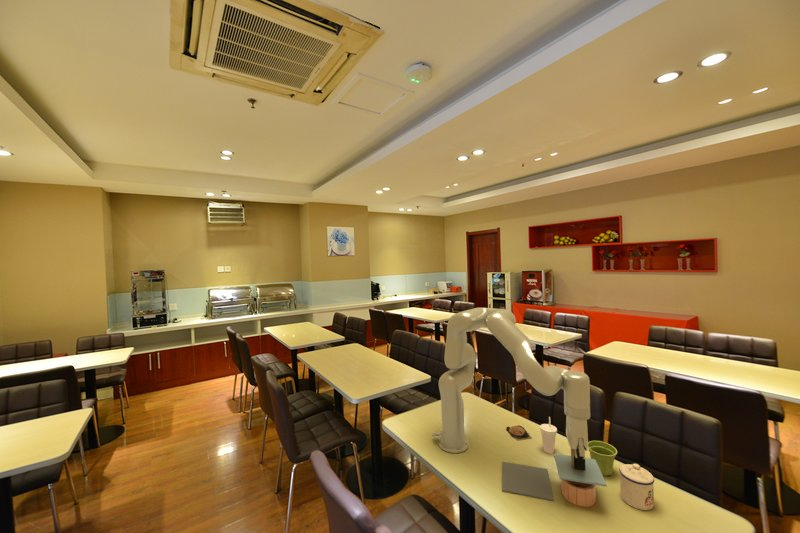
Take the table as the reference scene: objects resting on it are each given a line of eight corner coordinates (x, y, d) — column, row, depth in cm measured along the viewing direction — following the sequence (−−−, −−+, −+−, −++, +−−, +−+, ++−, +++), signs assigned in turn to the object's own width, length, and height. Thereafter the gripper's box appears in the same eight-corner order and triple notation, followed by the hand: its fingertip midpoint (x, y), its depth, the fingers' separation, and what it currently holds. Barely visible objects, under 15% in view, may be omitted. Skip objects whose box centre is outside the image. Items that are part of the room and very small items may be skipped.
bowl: (564, 503, 103) (564, 486, 103) (559, 482, 112) (559, 467, 112) (598, 509, 100) (598, 492, 100) (590, 488, 109) (590, 472, 109)
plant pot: (618, 483, 112) (617, 458, 112) (586, 474, 117) (586, 450, 116) (616, 468, 120) (616, 444, 119) (587, 460, 125) (587, 438, 124)
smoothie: (559, 456, 127) (558, 421, 127) (542, 455, 128) (541, 420, 128) (555, 447, 133) (554, 414, 133) (538, 445, 135) (538, 412, 135)
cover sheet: (559, 478, 102) (559, 458, 102) (553, 455, 114) (553, 436, 114) (606, 486, 98) (606, 465, 98) (595, 461, 110) (594, 442, 110)
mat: (502, 491, 109) (502, 490, 109) (502, 462, 124) (502, 461, 124) (553, 501, 104) (553, 499, 104) (547, 470, 119) (547, 468, 119)
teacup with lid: (652, 516, 97) (652, 478, 97) (617, 501, 103) (616, 465, 103) (657, 494, 106) (656, 459, 106) (623, 482, 112) (623, 449, 112)
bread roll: (533, 439, 140) (533, 431, 140) (516, 442, 139) (515, 434, 139) (520, 427, 151) (519, 419, 151) (503, 429, 149) (503, 421, 149)
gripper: (560, 398, 115) (561, 449, 115) (569, 420, 99) (570, 479, 99) (583, 400, 113) (584, 452, 113) (596, 424, 97) (598, 484, 97)
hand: (578, 464), depth 106 cm, fingers closed on cover sheet, 4 cm apart
